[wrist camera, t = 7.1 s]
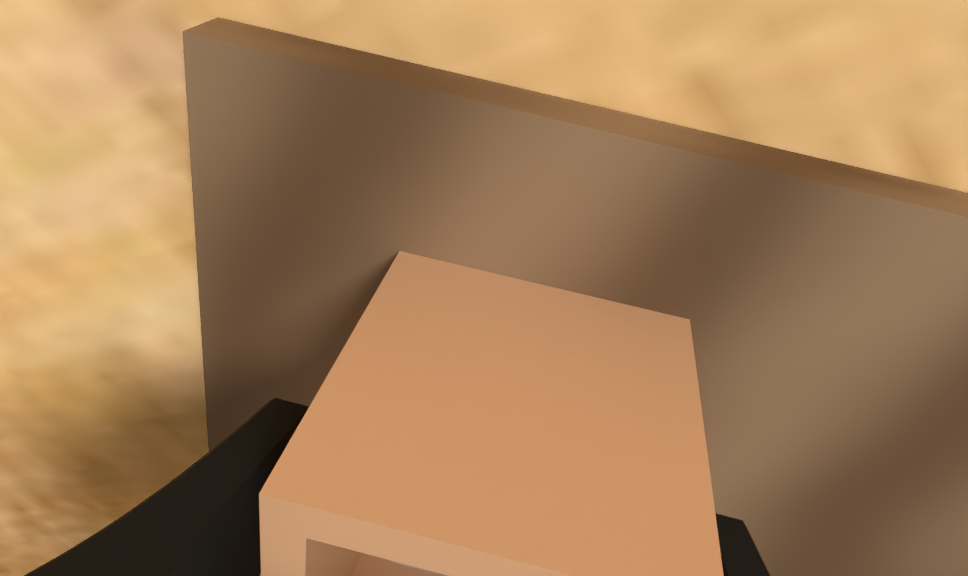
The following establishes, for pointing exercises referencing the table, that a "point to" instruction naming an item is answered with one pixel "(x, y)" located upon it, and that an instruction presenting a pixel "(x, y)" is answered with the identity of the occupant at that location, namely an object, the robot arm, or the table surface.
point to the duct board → (601, 274)
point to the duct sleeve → (497, 439)
